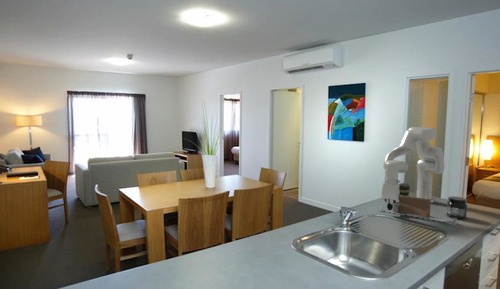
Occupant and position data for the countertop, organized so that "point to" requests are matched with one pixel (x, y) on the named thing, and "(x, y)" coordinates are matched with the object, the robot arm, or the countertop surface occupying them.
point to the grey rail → (419, 216)
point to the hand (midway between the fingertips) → (389, 209)
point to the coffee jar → (404, 189)
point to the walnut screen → (413, 206)
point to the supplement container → (457, 207)
